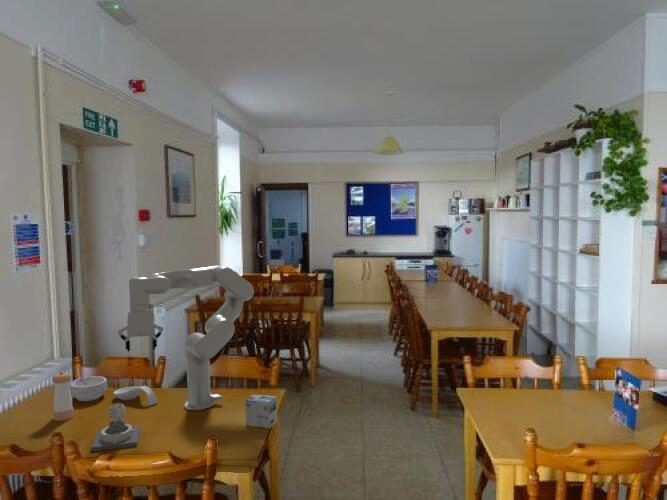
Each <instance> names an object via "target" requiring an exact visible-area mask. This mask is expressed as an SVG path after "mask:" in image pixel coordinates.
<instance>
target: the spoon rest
mask: <svg viewBox="0 0 667 500" xmlns="http://www.w3.org/2000/svg"><path fill="white" fill-rule="evenodd" d="M141 392H143V393H144V394H145V395H146V398H147V406H148V407H151V406H154V405H156V404H158V399H157V398H158V397H157V396H156V394H155V392H154V391H153V389H151V387H149V386H147V385H142V386H138V385H135V386H134V385H133V386H132V385H131V386H126V387H121V388H119V389H116V390H115V391H113V395H114V396H115V398H117V399H120V400H121V401H130V400H134V399H136V398H137V397H138V396H139V395H140V394H141Z"/></svg>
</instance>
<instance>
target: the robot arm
mask: <svg viewBox="0 0 667 500" xmlns="http://www.w3.org/2000/svg"><path fill="white" fill-rule="evenodd" d="M214 286H220V287H222V288H223V289H225V294H226V297H225V301H224V303H223V305H221V306H220V307H219V309H218V310H217V311H215V313H214V314H213V315H211V316H210V317H209V318H208V319H207V321H206V322H205V324H204V331H205V332H206V334H204V333H201V332H193V333H190V334H189V335H188V336H187V337H186V339H185V341H184V353H185V357H186V358H185V360H186V374H187V375H186V379H187V380H186V381H187V401H186V402H185V403H183V404H184V406H183V407H184V408H185V409H186V410H189V411H203V409H204V410H207V409H206V408H208V409H210V408H212V407H213V406H214V405H215V401H222V395H219V394H212V391H211V371H210V369H211V366H210V359H211V358H213V357H214V356H215V355H217V354H218V353H219V351H220V350H222V348H224V347H225V346H226V344H227V343H228V342H229V341H230V340H231V339H232V337H233V336H234V334H235V330H236V329H235V328H236V327H235V324H234V322H235V321H236V319H238V317H239V316H240V315H241V313H242V311H243V307H244V302H247V301H249V300H251V299H252V298H253V296H254V294H255V290H254V287H253V285H252V283H251V282H249V281H248V280H247V279H245V278H244V277H243V276H242V275H240V274H239V273H238V272H236V271H235V270H233V268H230V267H228V266H225V265H211V266H205V267H198V268H190V269H181V270H173V271H172V270H171V271H163V272H156V273H152V274H149V275H148V276H147V277H146V276H136V277H131V278H130V279H129V280H128V292H129V311H128V312H127V321H126V322H127V323H126V326H124V327H122V328H121V329H119V330H117V334H118V335H119V337H120V338H121V339H122V340H123V341H124V342H125V350H127V352H128V353H129V352H130V351H131V341H130V339H131V338H136V337H149V336H150V337H151V338H153V339H152V350H154V351H155V350H156V348H157V346H158V341H157V339H159V337H160V336H161V335H162V333H163V332H164V327H162V326H160V325H158V324H157V323H156V324H155V320H154V319H155V318H154V313H153V312H154V311H153V310H152V308H154V305H155V304H154V303H151V302H150V301H151V300H150V295H164V294H166V293H168V292H169V290H172V289H185V290H194V289H195V290H196V289H201V288H207V287H208V288H209V287H214ZM155 329H156V330H159V331H158V332H157V333H155ZM125 331H126V333H127V334H126V335H127V336H126V335H125V334H124V332H125ZM211 406H212V407H211ZM209 407H210V408H209Z"/></svg>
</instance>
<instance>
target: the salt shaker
mask: <svg viewBox="0 0 667 500" xmlns="http://www.w3.org/2000/svg"><path fill="white" fill-rule="evenodd" d="M71 380H72V375H71V374H70V373H69V372H64V371H62V370H61V371H59V373H56V374H54V375H53V376H52V378H51V381H52V383H53V384H54V396H53V397H54V398H53V407H54V408H53V412H52V413H53V415H52V416H53V420H54V421H56V422H57V421H58V422H62V421H68V420H70V419H72V418H73V417H74V407H73V398H72V397H73V396H71V393H70V383H71V382H70V381H71Z"/></svg>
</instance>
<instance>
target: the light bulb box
mask: <svg viewBox="0 0 667 500" xmlns="http://www.w3.org/2000/svg"><path fill="white" fill-rule="evenodd" d="M244 405H245V406H244V407H245V426H246V425H253V426H260V427H265V428H264V429H268V428H269V430H270V429H271V428H272V427H274V426H275V425H276V424H277V423H278V416H277V415H278V411H277V409H278V407H277V396H276V395H275V396H272V395H264V394H263V395H262V394H260V395H259V394H254V393H253V394H251V395H250V396H249V397H248V396H247V398H245V403H244ZM253 426H252V427H253ZM260 427H259V428H260Z"/></svg>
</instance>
